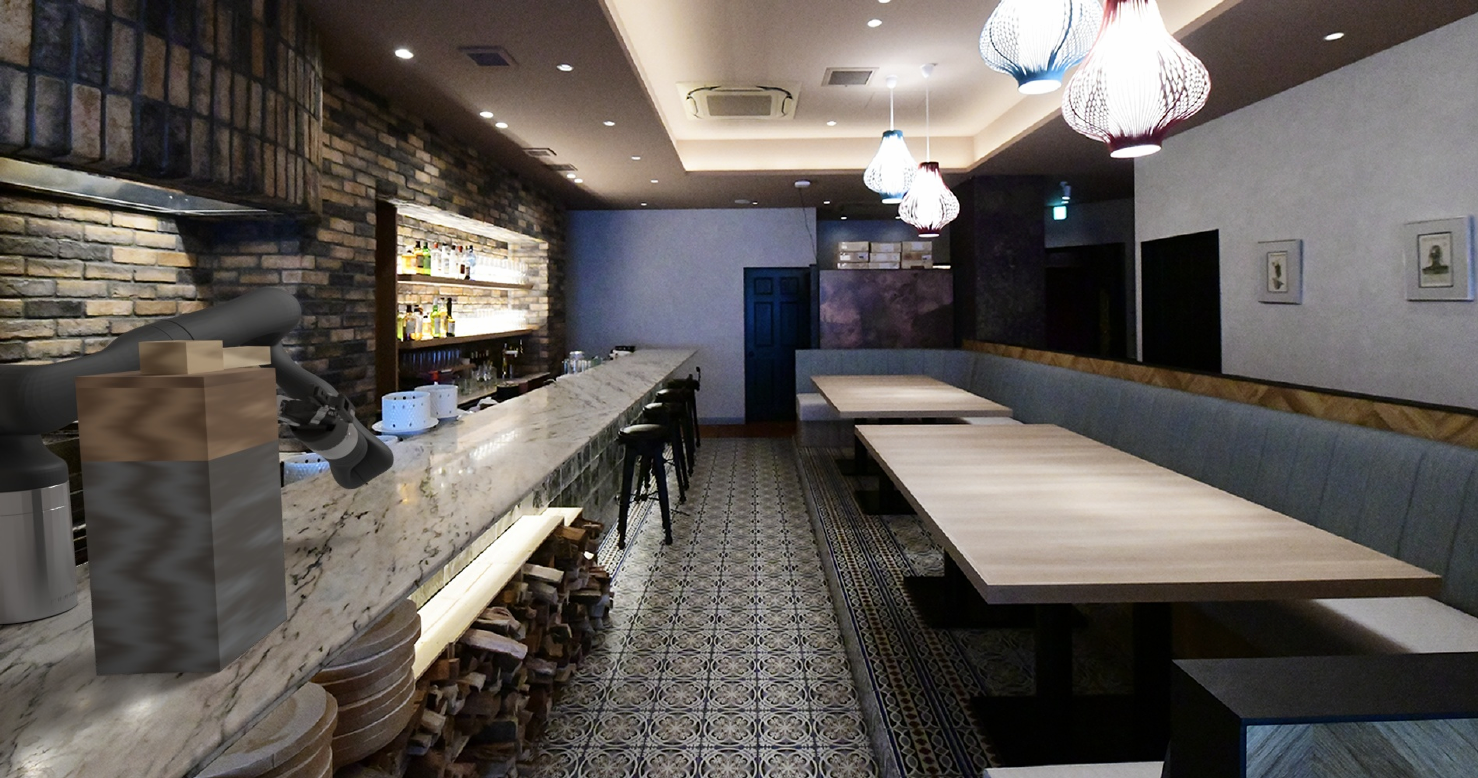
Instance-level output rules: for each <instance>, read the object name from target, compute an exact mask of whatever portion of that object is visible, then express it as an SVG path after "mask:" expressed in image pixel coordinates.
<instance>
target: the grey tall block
mask: <svg viewBox="0 0 1478 778" xmlns="http://www.w3.org/2000/svg"><path fill="white" fill-rule="evenodd" d="M75 385H76V399H77V413H78V420H77V424H78V425H77V426H78V437H79V438H78V439H79V453H80V464H81V465H80V466H81V479H82V480H81V481H82V494H83V506H84V508H83V509H84V521H85V535H86V536H85V537H86V547H87V549H86V550H87V561H88V574H89V575H88V577H89V590H90V603H91V604H90V605H91V606H90V607H91V619H92V631H93V633H92V634H93V644H94V647H93V648H94V657H95V658H94V659H95V670H96V672H95V673H96V676H113V675H114V676H116V675H117V676H118V675H146V674H147V675H149V674H173V673H174V674H175V673H176V674H178V673H179V674H180V673H205V672H206V673H208V672H209V673H210V672H222V671H223V670H224V669H225V668H227V667H228V666H230V664H232V663H233V662H234V661H236V660H237V659H238V658H239V657H241V656H242V655H243V654H245V652H247V651H248V650H250V649H251V648H252V647H254V646H255V645H256V644H258V642H260V641H261V640H262V639H264V638H265V637H266V636H267V635H269V634H270V633H271V632H273V630H275V629H276V628H278V627H279V626H280V625H282V624H283V623H285V622H286V621H287V620H288V608H287V607H288V605H287V589H286V588H287V587H286V586H287V585H286V566H285V565H286V564H285V563H286V562H285V547H284V545H285V544H284V543H285V541H284V525H283V524H284V523H283V522H284V521H283V520H284V519H283V503H282V485H281V480H282V479H281V463H280V460H281V459H280V443H279V441H280V440H279V419H278V417H277V384H276V375H275V368H260V367H238V368H229V369H224V370H220V371H211V372H202V373H194V374H141V371H140V370H139V371H129V372H119V373H109V374H98V375H88V376H78V377H75Z"/></svg>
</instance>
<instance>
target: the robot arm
mask: <svg viewBox="0 0 1478 778" xmlns="http://www.w3.org/2000/svg"><path fill="white" fill-rule="evenodd" d="M301 317H302V308H301V305H300V302H299V301H298V299H297V298H296V297H295V296H294V295H293V294H292V293H290V292H288V291H286V290H284V289H282V288H277V287H273V286H262V287H257V288H254V289H253V290H250V291H248V292H246V293H244V294H242V295H239V296H237V297H235V298H233V299H230V300H228V301H226V302H223V303H221V304H217V305H213V306H210V307H206V308H201V309H198V310H195V311H191V312H188V313H184V314H180V315H178V316H173V317H170V318H166V319H161V320H158V321H153V322H152V323H148V324H145V325H140V326H138V327H135V328H133V329H132V328H131V329H130V330H128V331H126V332H123V333H121V334H120V335H119V336H116V338H114V340H112V341H111V342H110V343H109V344H108V345H107V346H105V347H104V348H103V349H101V350H99V351H97V352H96V351H95V353H91V354H87V355H83V356H79V357H77V358H73V359H68V360H67V359H66V360H62V361H57V362H52V363H45V364H15V363H14V364H11V363H10V364H9V363H8V364H7V363H3V364H2V363H0V625H3V624H4V625H6V624H16V623H17V624H18V623H23V622H30V621H35V620H41V619H45V618H49V617H51V616H55V615H58V614H62V613H64V612H66V611H68V610H71V609H72V608H74V607H75V606H77V605H78V603H79V600H78V599H79V597H78V586H77V585H78V584H77V569H76V558H75V557H76V556H75V555H76V554H75V545H74V531H73V516H72V506H71V505H72V504H71V492H70V480H69V479H70V478H69V476H70V475H69V467H68V466H69V465H68V463H67V461H66V460H64V459H63V458H62V457H60V456H58V455H56V454H55V453H53V451H51V450H50V449H49V448H48V447H47V446H46V445H45V444H44V442H43V439H42V435H45V434H49V433H53V432H55V431H58V430H60V429H62V428H65V427H67V426H68V425H71V424H73V423H75V422H78V413H77V399H76V385H75V377H78V376H88V375H98V374H109V373H119V372H129V371H139V370H140V355H139V342H153V341H176V340H207V341H222V344H223V348H231V347H246V346H261V347H270V357H271V364H265V365H258V366H259V368H275V375H276V386H278V387H279V388H280V389H281V390H282V391H283V392H284V393H285V394H286V395H287V396H285V395H282V394H276V396H277V417H278V421H281V422H283V423H286V424H288V426H289V429H290V432H291V434H292V435H293V436H294V438H295V439H297V440H299V442H301V443H302V444H303V445H304V446H306V447H307V448H308V449H309V450H311V451H312V452H313V453H314V454H316V455H319V456H320V457H321V458H323V459H324V460H325V461H326V462H327V463H328V465H329V470H330V472H331V475H332V478H333V479H334V480H335V482H336V483H337V484H338V486H340V487H341V488H343V489H347V490H355V489H356V490H357V489H358V488H361V487H363V486H365V485H366V484H367V483H369V482H370V481H373V480H374V479H376V478H377V477H378V476H380V475H382V474H384V473H385V472H387V471H389V470H390V469H391V468H392V467H393V466H394V461H395V458H394V456H395V455H394V453H393V451H392V449H391V448H390V447H389V446H388V444H387V443H385V442H384V441H383V440H381V439H380V438H379V437H377V436H376V435H375V434H373V433H372V432H371V431H370V430H369V429H368V428H366V427H365V425H363V424H362V423H361V422H360V421H359V420H358V418H357V417H356V416H355V414H356V409H357V408H356V407H355V406H354V403H352V402H351V400H350V399H349V398H348V396H347V395H345V394H343V393H341V394H340V393H339V392H338V391H337V390H336V388H334V386H332V385H331V383H329V382H327V381H326V380H324V379H323V378H321V377H319V376H317V375H315V374H313V373H311V372H310V371H308V370H306V369H305V368H303V367H302V366H300V365H299V364H297V363H296V361H294V360H293V358H291V357H290V355H289V354H288V352H287V351H286V349H285V348H284V346H283V345H282V343H281V342H282V340H283V339H284V338H286V337H287V336H288V335H289V334H290V333H291V332H293V331H294V330H295V328H297V326H298V324H299V323H300V321H301ZM282 403H284V404H283V406H282V407H281V404H282Z"/></svg>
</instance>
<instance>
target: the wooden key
mask: <svg viewBox="0 0 1478 778" xmlns="http://www.w3.org/2000/svg"><path fill="white" fill-rule="evenodd" d="M139 355H140V371H141V374H194V373H202V372H211V371H220V370H224V369H229V368H248V367H253V366H259V365H265V364H271V357H270V347H261V346H246V347H240V346H238V347H231V348H223V344H222V341H207V340H176V341H153V342H139Z"/></svg>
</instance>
